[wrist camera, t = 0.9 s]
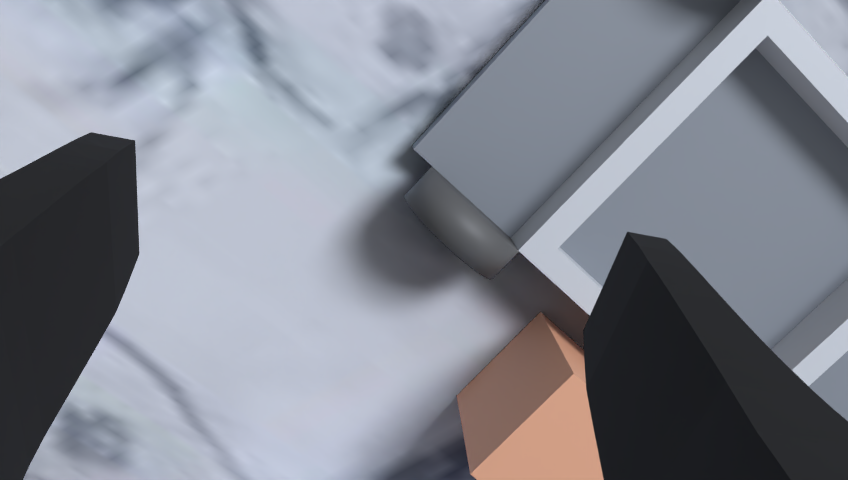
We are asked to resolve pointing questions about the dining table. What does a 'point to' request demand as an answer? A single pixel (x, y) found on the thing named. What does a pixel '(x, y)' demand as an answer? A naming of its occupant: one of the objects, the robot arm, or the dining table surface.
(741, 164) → the chassis
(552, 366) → the light orange block
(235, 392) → the dining table surface
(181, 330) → the dining table surface
